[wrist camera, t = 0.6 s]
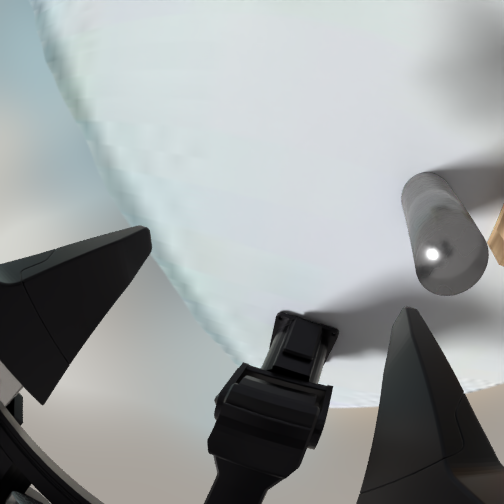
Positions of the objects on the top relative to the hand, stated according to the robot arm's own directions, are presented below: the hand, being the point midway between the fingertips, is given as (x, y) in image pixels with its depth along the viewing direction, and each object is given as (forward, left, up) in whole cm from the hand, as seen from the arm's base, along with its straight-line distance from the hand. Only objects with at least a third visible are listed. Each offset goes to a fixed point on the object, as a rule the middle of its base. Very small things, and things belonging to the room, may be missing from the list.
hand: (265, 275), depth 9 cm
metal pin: (0, -8, -13) cm, 15 cm away
